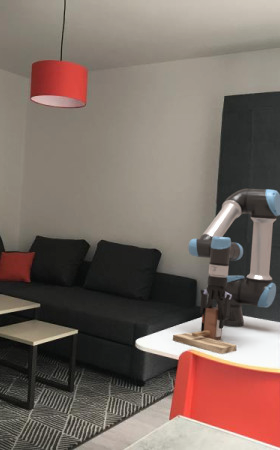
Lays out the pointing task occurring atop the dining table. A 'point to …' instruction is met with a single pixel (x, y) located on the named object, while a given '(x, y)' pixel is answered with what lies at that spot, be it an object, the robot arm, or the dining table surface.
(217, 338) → the wooden mallet
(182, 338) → the board
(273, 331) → the dining table surface
